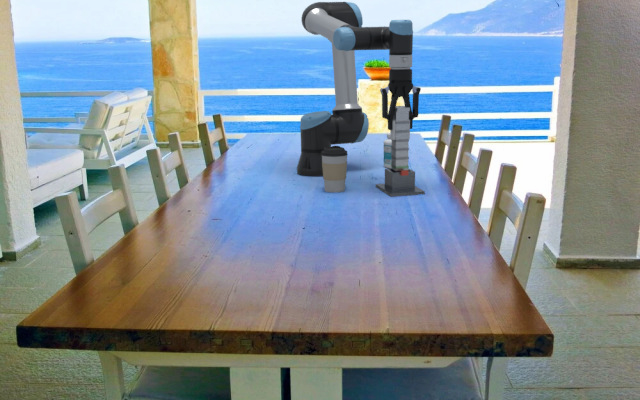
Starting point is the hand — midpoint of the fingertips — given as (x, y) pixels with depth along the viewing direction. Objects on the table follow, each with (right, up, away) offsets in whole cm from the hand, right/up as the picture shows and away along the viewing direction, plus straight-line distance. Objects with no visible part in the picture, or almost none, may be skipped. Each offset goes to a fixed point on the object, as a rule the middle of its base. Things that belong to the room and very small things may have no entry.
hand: (400, 139), depth 230 cm
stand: (0, -17, +4) cm, 18 cm away
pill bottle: (+3, -7, +47) cm, 47 cm away
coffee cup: (-22, -17, +6) cm, 28 cm away
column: (0, -10, +2) cm, 10 cm away
